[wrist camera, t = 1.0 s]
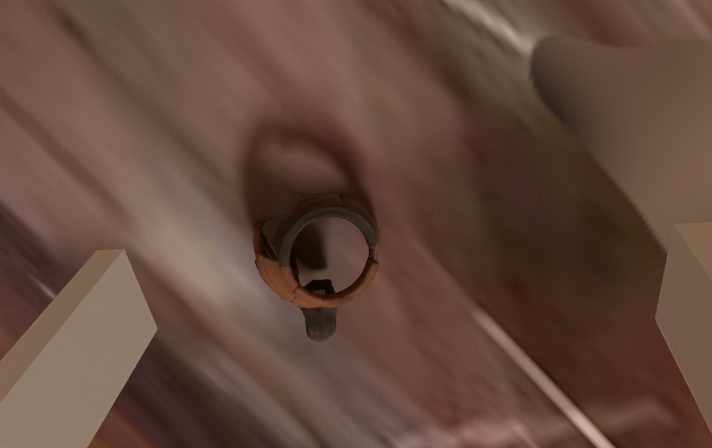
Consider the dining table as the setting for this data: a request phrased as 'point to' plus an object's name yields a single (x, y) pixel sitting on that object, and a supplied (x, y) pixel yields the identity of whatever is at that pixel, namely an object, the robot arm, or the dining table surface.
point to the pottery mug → (284, 281)
